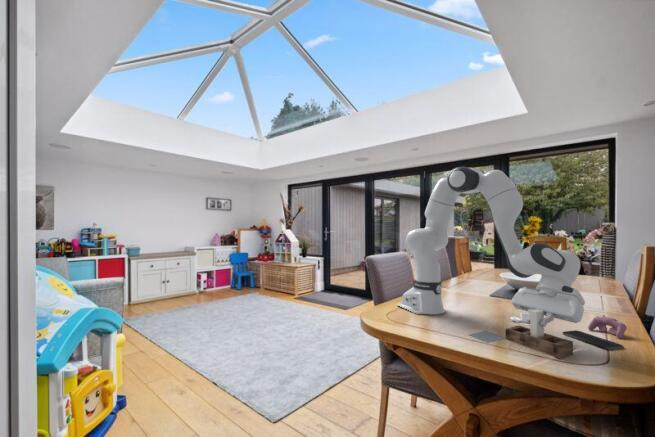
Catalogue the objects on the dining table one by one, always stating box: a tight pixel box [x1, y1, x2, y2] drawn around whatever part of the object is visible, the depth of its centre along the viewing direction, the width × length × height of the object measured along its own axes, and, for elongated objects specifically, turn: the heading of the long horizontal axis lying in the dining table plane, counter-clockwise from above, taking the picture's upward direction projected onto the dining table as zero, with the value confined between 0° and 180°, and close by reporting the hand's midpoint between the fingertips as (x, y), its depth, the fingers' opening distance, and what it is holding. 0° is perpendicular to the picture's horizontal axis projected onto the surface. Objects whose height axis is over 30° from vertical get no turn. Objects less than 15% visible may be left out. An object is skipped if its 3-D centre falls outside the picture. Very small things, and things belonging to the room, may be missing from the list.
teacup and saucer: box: [510, 311, 530, 326], centre depth 124 cm, size 9×8×4 cm
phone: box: [562, 329, 624, 351], centre depth 103 cm, size 8×1×15 cm
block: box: [529, 309, 545, 338], centre depth 98 cm, size 2×4×9 cm, turn 115°
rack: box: [505, 325, 574, 360], centre depth 98 cm, size 17×8×4 cm, turn 26°
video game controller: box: [587, 315, 627, 339], centre depth 110 cm, size 10×5×7 cm, turn 22°
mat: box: [468, 330, 506, 344], centre depth 107 cm, size 8×10×1 cm
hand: (535, 323), depth 98 cm, fingers closed on block, 2 cm apart
